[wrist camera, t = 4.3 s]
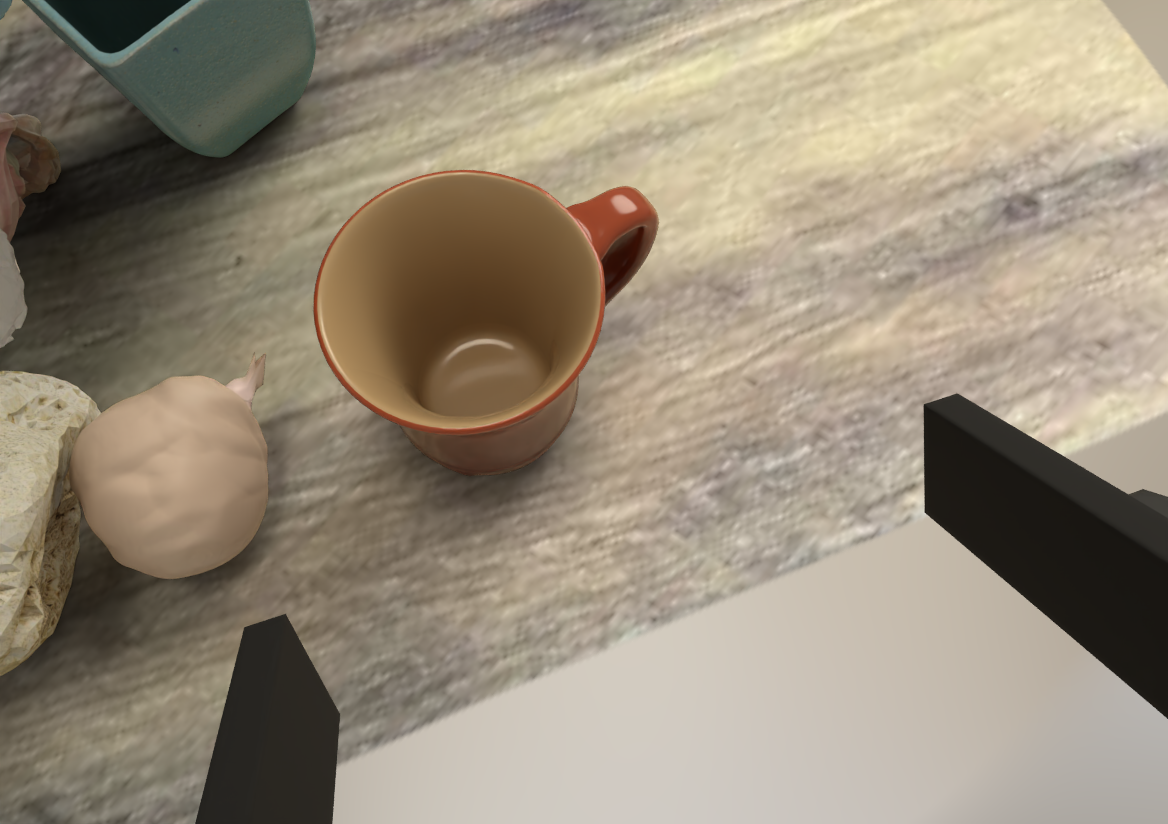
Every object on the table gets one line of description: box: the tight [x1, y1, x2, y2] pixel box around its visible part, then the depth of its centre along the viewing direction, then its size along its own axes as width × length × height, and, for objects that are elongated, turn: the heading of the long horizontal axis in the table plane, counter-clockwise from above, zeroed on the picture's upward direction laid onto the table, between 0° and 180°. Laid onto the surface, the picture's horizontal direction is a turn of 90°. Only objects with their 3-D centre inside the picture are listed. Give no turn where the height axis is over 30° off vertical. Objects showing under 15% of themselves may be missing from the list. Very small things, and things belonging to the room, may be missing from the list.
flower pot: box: [22, 0, 316, 157], centre depth 32 cm, size 9×9×9 cm
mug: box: [314, 170, 659, 476], centre depth 28 cm, size 12×9×10 cm
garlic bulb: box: [69, 352, 268, 579], centre depth 28 cm, size 7×6×8 cm
